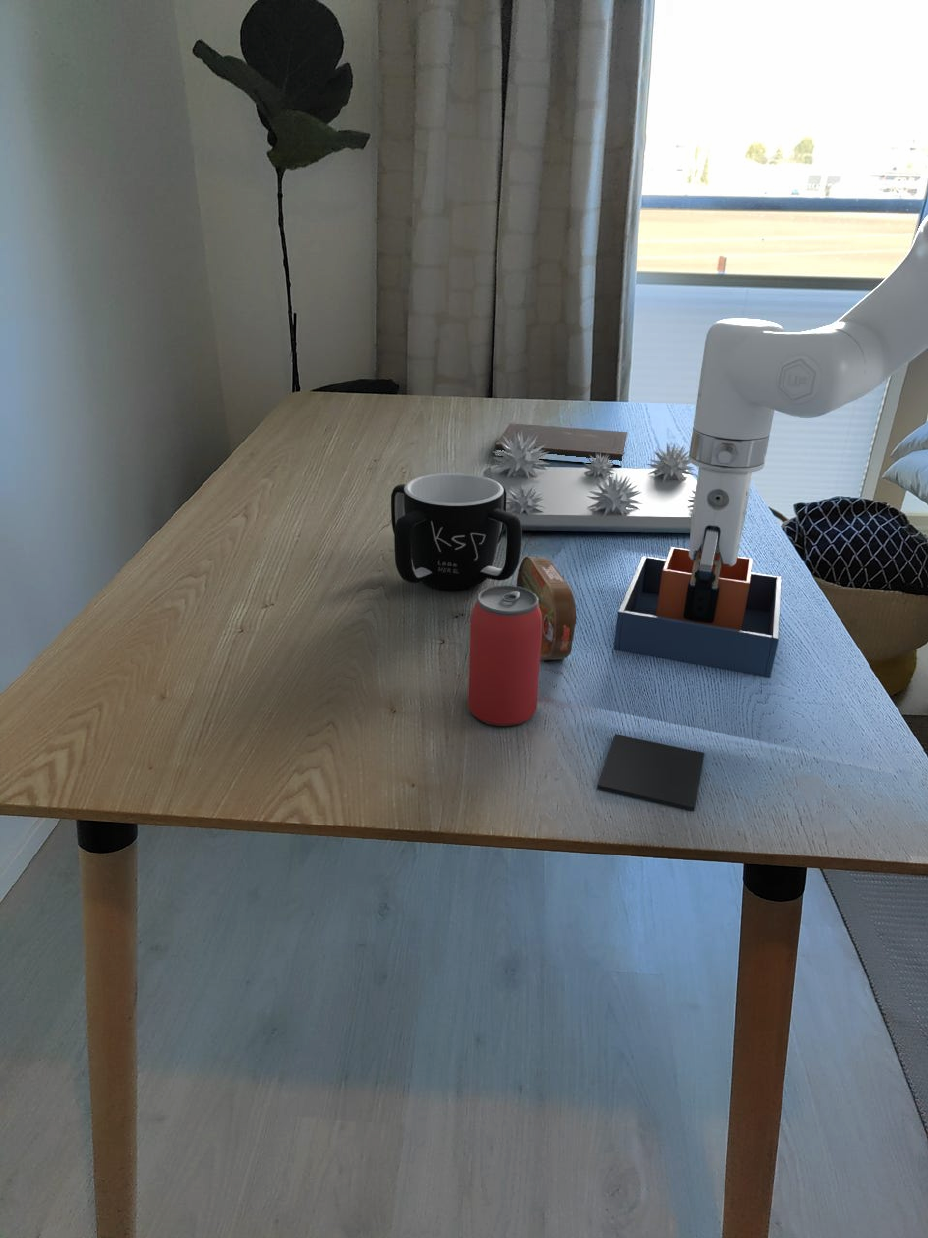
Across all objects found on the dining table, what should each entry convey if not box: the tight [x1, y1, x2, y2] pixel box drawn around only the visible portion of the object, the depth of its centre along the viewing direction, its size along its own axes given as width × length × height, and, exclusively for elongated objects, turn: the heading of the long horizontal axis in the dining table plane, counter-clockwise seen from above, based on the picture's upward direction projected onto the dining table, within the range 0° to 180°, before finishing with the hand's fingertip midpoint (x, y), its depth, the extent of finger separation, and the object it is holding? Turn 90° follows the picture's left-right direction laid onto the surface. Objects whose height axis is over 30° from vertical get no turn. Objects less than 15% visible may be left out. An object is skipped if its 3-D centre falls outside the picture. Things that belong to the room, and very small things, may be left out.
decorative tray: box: [482, 431, 697, 534], centre depth 131 cm, size 35×26×10 cm
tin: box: [516, 556, 577, 662], centre depth 93 cm, size 15×3×8 cm, turn 10°
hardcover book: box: [494, 422, 628, 462], centre depth 161 cm, size 16×23×2 cm
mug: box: [390, 472, 523, 591], centre depth 106 cm, size 16×16×12 cm
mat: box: [596, 733, 705, 812], centre depth 74 cm, size 8×8×1 cm
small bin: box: [656, 546, 754, 630], centre depth 95 cm, size 9×7×8 cm
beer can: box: [467, 584, 543, 727], centre depth 79 cm, size 7×7×12 cm
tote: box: [613, 555, 783, 679], centre depth 96 cm, size 16×16×5 cm
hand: (702, 603), depth 95 cm, fingers closed on small bin, 7 cm apart
